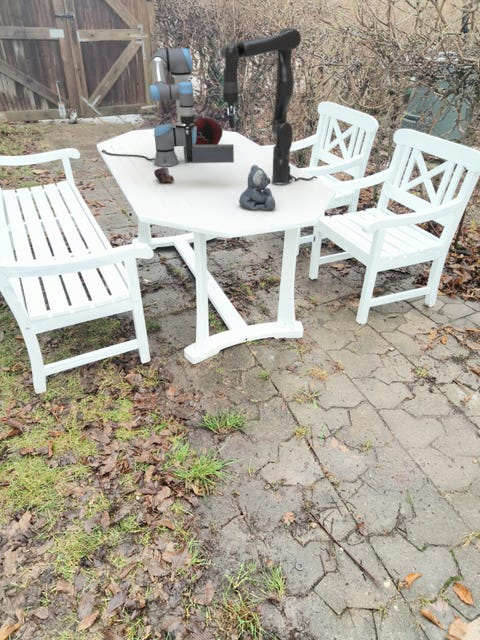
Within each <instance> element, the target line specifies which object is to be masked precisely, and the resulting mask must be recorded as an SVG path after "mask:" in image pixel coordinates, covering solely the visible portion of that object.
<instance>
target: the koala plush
mask: <svg viewBox="0 0 480 640" xmlns="http://www.w3.org/2000/svg"><path fill="white" fill-rule="evenodd" d="M270 183H271V178H269V176H268V175H267V173H266V172H265V170H264V169H263V168H261V167H259V165H257V164H253V165H250V170H249V173H248V176H247V188H246V189H245V190H244V191H243V192H242V193H241V194H240V197H239V199H238V203H239V204H240V206H241V207H242V208H246V209H247V210H252V211H255V210H261V211H272V210H274V209H275V208H276V200H275V198H274V196H273V194H272V191H271V188H270V187H268V186H269V185H270Z"/></svg>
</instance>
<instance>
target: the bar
mask: <svg viewBox="0 0 480 640" xmlns="http://www.w3.org/2000/svg"><path fill="white" fill-rule="evenodd" d="M185 149H186V145H184V146H183V157H184V164H218V163H221V164H222V163H224V164H225V163H226V164H227V163H232V164H233V163H235V154H234V152H235V151H234V149H235V148H234V144H233V143H232V144H231V143H230V144H229V143H227V144H225V143H224V144H218V145H191V149H192V162H187V150H185Z"/></svg>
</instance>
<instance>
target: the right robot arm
mask: <svg viewBox="0 0 480 640" xmlns="http://www.w3.org/2000/svg"><path fill="white" fill-rule="evenodd" d="M301 40H302V35H301V32H300V31H299V30H298V29H296V28H294V27H284V28H282V29H280V31H279V33H278V34H277V35H272V36H264V37H256V38H251V39H247V40H243V41H238V42H232V43H226V44H224V45H223V46H222V47H221V49H220V55H221V57H222V59H223V60H224V61H225V62H224V63H225V66H224V69H223V72H222V73H223V74H222V75H223V77H222V78H223V82H222V83H223V84H222V96H223V97H222V98H223V99H222V101H223V103H227V105H226V110H227V116H228V125H229V129H234V127H235V123H234V122H235V113H236V105H235V104H234V103H238V102H239V81H238V80H239V78H238V75H239V73H238V69H239V63H240V59H242V58H245V59H246V58H252V57H256V56H259V55H263V54H266V53H271V52H275V51H276V52H277V66H276V67H277V69H276V80H275V97H274V111H273V118H272V124H271V134H272V135H273V136H274V137H275V138H276V142H275V143H276V144H275V145H274V146H273V148H272V175H271V183H272V184H273V185H277V186H285V185H288V184H290V182H291V181H293V179H294V181H298V180H303V181H311V180H312V179H317V180H318V177H317V176H316V175H315V176H314V175H313V176H312V177H310V178H306V177H297V178H296V177H295V176H293V175H292V174H291V166H290V153H291V148H292V144H293V136H294V135H293V134H294V133H293V132H294V129H293V125H292V124H291V123H290V122H287V114H288V108H289V106H290V103H291V101H292V98H293V94H294V89H295V88H294V87H295V86H294V85H295V76H294V70H293V66H292V54H293V53H292V52H293V50H295V49H297V48H298V47H299V46H300V44H301V42H302V41H301ZM313 242H316V235H314V236H313Z"/></svg>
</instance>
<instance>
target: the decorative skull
mask: <svg viewBox="0 0 480 640" xmlns="http://www.w3.org/2000/svg"><path fill="white" fill-rule="evenodd" d="M194 126H196V128H197V130H196V132H197V135H196V143H195V145H219V143H220V141H221V140H222V137H223V133H224V132H223V128H222V126H221V125H220V124H219V123H218V122H217V121H216V120H214V118H210V117H202V118H201V117H200V118H199V119H197V120H195V123H194Z"/></svg>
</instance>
